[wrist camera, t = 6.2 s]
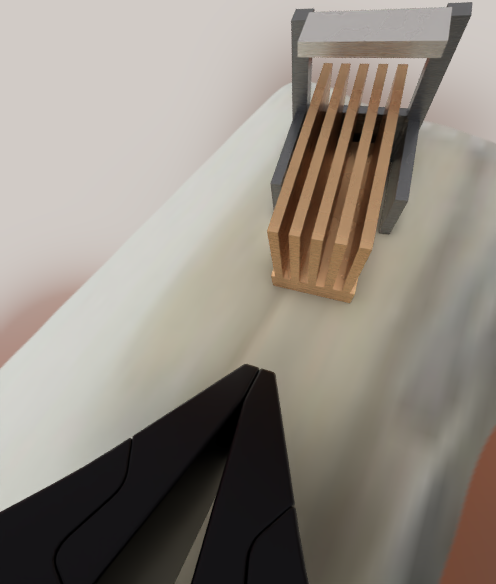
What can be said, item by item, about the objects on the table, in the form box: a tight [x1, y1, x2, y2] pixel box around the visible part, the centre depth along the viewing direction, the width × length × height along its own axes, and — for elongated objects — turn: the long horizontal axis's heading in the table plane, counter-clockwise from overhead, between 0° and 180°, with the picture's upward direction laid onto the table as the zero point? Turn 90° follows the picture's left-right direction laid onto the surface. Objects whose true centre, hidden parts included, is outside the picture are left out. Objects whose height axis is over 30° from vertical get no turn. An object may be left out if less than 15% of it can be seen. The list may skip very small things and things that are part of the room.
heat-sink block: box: [267, 63, 408, 303], centre depth 20 cm, size 14×6×8 cm, turn 162°
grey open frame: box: [271, 2, 472, 234], centre depth 20 cm, size 9×10×10 cm
